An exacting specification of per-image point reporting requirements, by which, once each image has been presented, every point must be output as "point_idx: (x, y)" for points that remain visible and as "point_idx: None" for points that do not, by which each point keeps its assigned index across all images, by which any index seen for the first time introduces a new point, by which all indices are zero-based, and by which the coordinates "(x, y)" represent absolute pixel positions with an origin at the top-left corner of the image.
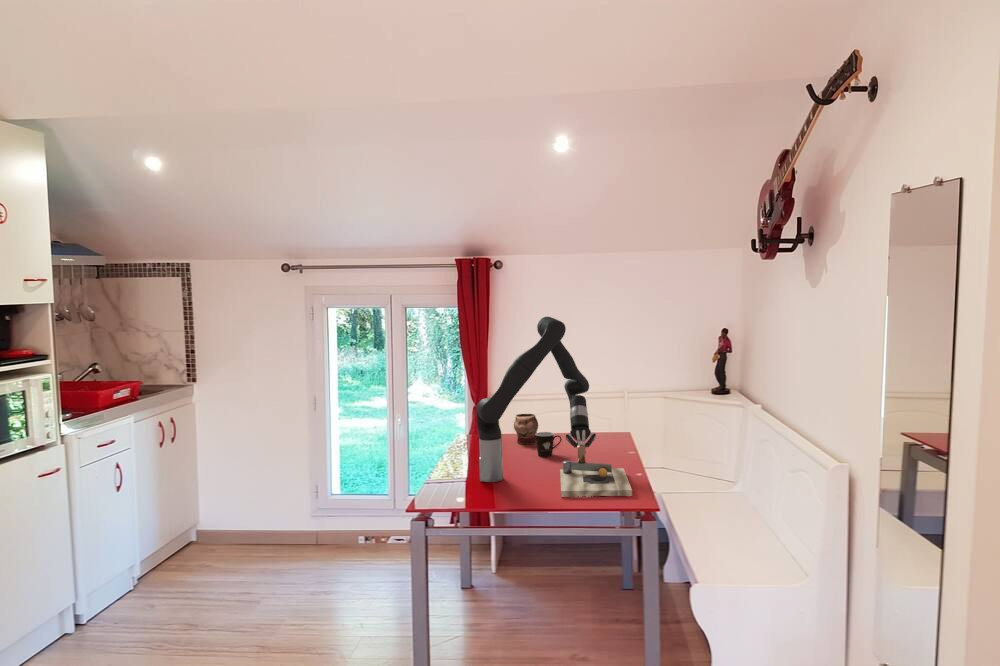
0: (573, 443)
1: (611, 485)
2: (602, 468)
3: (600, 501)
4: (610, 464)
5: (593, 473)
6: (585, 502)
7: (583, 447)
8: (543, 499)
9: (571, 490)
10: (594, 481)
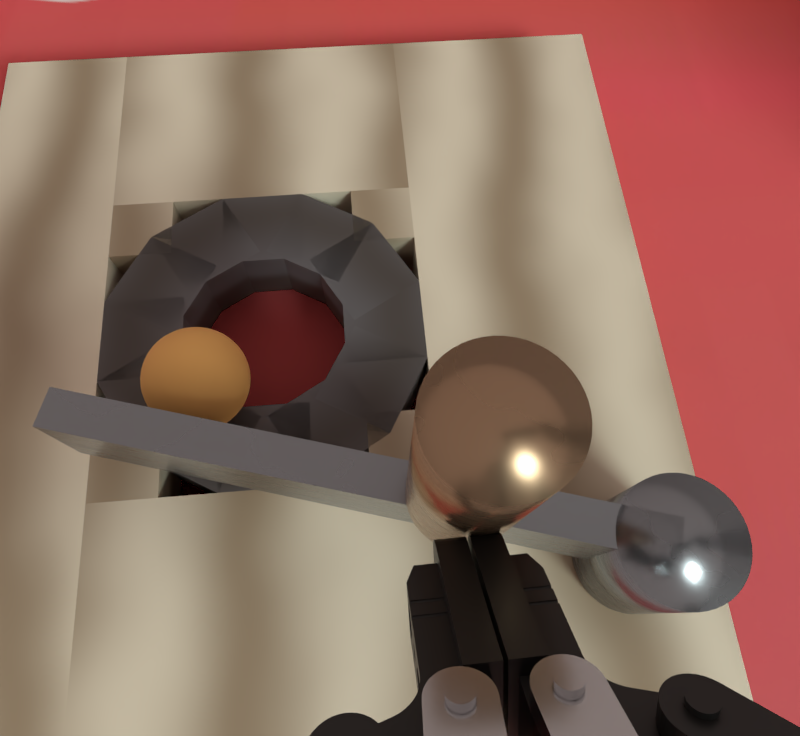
0: (740, 700)
1: (159, 157)
2: (185, 354)
3: (283, 22)
4: (53, 409)
5: (310, 528)
6: (386, 5)
7: (443, 360)
8: (687, 46)
9: (500, 45)
10: (308, 255)
